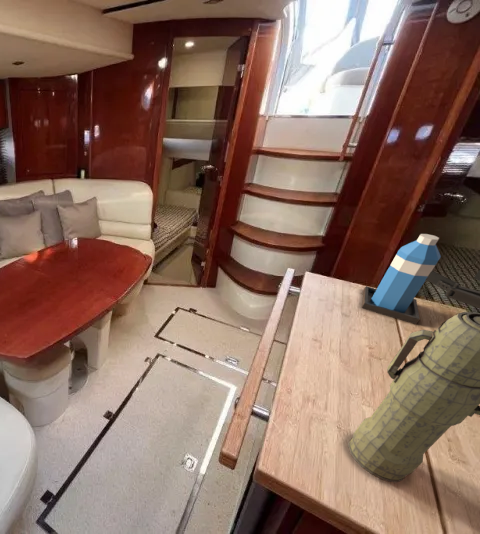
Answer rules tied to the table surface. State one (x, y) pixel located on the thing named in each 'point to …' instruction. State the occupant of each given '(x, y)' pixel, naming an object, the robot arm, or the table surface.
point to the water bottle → (407, 274)
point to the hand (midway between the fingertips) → (453, 274)
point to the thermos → (422, 399)
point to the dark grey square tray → (409, 315)
